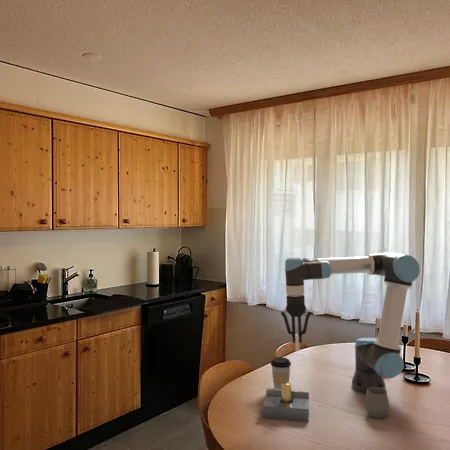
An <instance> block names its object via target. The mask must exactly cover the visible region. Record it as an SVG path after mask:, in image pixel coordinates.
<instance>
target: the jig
mask: <svg viewBox="0 0 450 450" xmlns="http://www.w3.org/2000/svg"><path fill="white" fill-rule="evenodd" d="M265 390H266V391H265V398H264V401H263V405H262V419H267V420H268V419H269V420H279V421H280V420H281V421H282V420H283V421H291V422H292V421H293V422H305V423H309V422H310V419H309V418H310V390H303V389H291V403H282V395H281V389H276V388H274V387H266V389H265Z"/></svg>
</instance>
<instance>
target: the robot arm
mask: <svg viewBox="0 0 450 450" xmlns="http://www.w3.org/2000/svg"><path fill="white" fill-rule="evenodd" d="M284 272H285V291H286V293H285V294H286V305H285V309H283V310H281V311H280V314H281V316H282V317H283V320H284V323H285V327H286V331H287V333H288V334H289V335H291V337H292V343H293V344H295V352H300V343H302V342H303V340H302V338H303V335H305V334H307V329H308V325H309V324H308V323H309V319H310V316H311V315H312V311H311V310H309V309H307V307H306V305H305V303H306V302H305V300H306V299H305V281H308V280H311V281H312V280H325V279H330V277H331V276H332V275H342V274H343V275H345V274H347V275H348V274H367V275H369V276H373V275H374V276H382V277H384V278H383V282H384V283H385V285H386V287H385V288H386V289H385V293H384V301H383V306H382V312H381V317H380V323H379V328H378V334H377V335H378V336H377V337H362V338H361V337H360V338H357V339H355V344H354V345H355V346H354V349H355V350H354V351H355V354H354V355H355V356H354V357H355V369H354V370H355V371H354V374H353V376H352V379H351V387H352V388H353V389H354V390H355V391H357V392H361V393H366V392H367V389H368V388H371V387H378V388H382V389H385V390H386V382H385V379H394V378H396V377H397V376H399V375H400V374H401V373H402V372H403V369H404V363H405V362H404V359H403V357H402V356H401V350H402V348H401V346H400V344H399V340H400V334H401V328H402V322H403V316H404V311H405V305H406V298H407V295H408V294H407V293H408V290H409V289H411V288H412V285H413V282H414V281H416V279H418V277H419V276H420V272H421V268H420V263H419V262H418V261H417V259H416V258H415V257H413V256H412V255H410V254H406V253H398V252H391V251H389V252H388V251H387V252H380V253H379V252H378V253H369V254H366V255H365V256H353V257H352V256H347V257H345V256H344V257H323V258H322V257H321V258H320V257H319V258H305V257H303V258H301V257H290V258H287V259H286V260H285V263H284ZM304 313H305V319H304V324H303V329H302V316H303V315H304ZM287 314H289V315H290V317H291V326H290V324H289V323H290V322H289V319H288V316H287ZM296 318H297V329H298V330H297V331H298V333H296ZM384 378H385V379H384Z"/></svg>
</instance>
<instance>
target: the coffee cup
mask: <svg viewBox="0 0 450 450" xmlns="http://www.w3.org/2000/svg"><path fill="white" fill-rule="evenodd" d="M270 366H271V368H272V369H271V371H272V373H271V374H272V382H273V388H276V389H281V383H283V382H289V383H290V374H291V366H292V362H291V361H290V359H289V358H288V357H273V358H272V359H271V361H270Z"/></svg>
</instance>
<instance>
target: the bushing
mask: <svg viewBox="0 0 450 450" xmlns="http://www.w3.org/2000/svg"><path fill="white" fill-rule="evenodd" d="M291 390H292V383H291V382H290V381H289V382H283V383H281V395H282V403H291Z"/></svg>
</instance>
